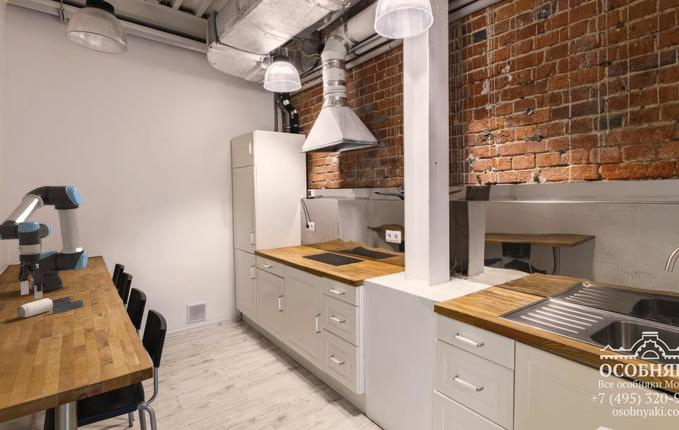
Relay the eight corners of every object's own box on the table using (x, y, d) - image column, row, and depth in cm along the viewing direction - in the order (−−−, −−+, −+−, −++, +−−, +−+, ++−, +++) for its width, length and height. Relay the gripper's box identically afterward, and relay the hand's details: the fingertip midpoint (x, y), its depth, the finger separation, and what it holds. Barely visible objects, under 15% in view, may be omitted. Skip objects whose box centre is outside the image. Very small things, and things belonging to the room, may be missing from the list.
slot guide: (40, 308, 172) (40, 303, 172) (67, 302, 183) (67, 296, 183) (55, 313, 166) (55, 307, 166) (82, 306, 177) (82, 301, 176)
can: (51, 296, 170) (23, 303, 158) (55, 308, 170) (27, 316, 158) (43, 299, 172) (14, 307, 160) (47, 311, 171) (19, 320, 160)
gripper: (7, 252, 164) (9, 294, 165) (32, 256, 153) (34, 301, 154) (27, 250, 170) (28, 290, 172) (52, 254, 160) (54, 297, 161)
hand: (31, 296), depth 163 cm, fingers open, 13 cm apart
